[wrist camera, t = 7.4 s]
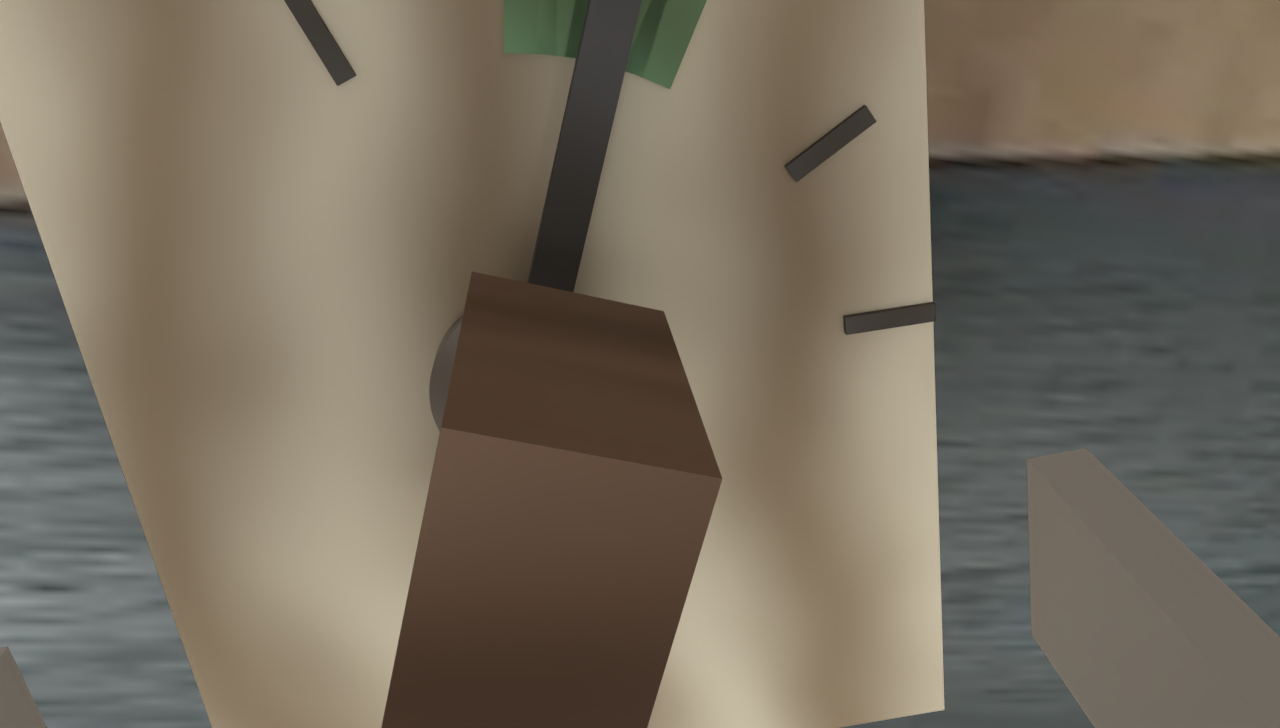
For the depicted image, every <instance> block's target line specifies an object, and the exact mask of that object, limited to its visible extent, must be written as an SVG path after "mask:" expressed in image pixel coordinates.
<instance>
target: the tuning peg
mask: <svg viewBox="0 0 1280 728" xmlns="http://www.w3.org/2000/svg"><path fill="white" fill-rule="evenodd" d="M641 1H642V0H589V2H588V6H587V11H586V15H585V20H584V24H583V29H582V34H581V38H580V43H579V47H578V52H577V57H576V61H575V66H574V70H573V75H572V80H571V84H570V89H569V93H568V98H567V103H566V107H565V112H564V116H563V121H562V125H561V130H560V135H559V139H558V144H557V148H556V153H555V158H554V162H553V167H552V171H551V176H550V181H549V185H548V190H547V194H546V199H545V204H544V208H543V213H542V217H541V222H540V226H539V231H538V236H537V240H536V245H535V249H534V254H533V259H532V263H531V268H530V272H529V277H528V282H527V283H526V282H521V281H516V280H511V279H507V278H502V277H497V276H492V275H487V274H482V273H478V272H473V271H472V273H471V278H470V283H469V288H468V293H467V298H466V303H465V308H464V313H463V315H462V316H461V317H460V318H459V319H458V320H457V321H456V322H455V323H454V324H453V325H452V326H451V328H450V329H449V330H448V331H447V333H446V334H445V336H444V338H443V339H442V341H441V343H440V345H439V348H438V350H437V353H436V356H435V360H434V364H433V368H432V372H431V376H430V384H429V400H430V406H431V412H432V415H433V418H434V421H435V424H436V426H437V428H438V430H439V432H440V434H439V439H438V444H437V449H436V454H435V459H434V464H433V469H432V474H431V479H430V484H429V489H428V494H427V499H426V504H425V510H424V515H423V520H422V525H421V530H420V535H419V540H418V545H417V550H416V555H415V560H414V565H413V570H412V575H411V580H410V585H409V590H408V595H407V600H406V605H405V610H404V615H403V620H402V625H401V630H400V635H399V640H398V646H397V651H396V656H395V661H394V666H393V671H392V676H391V681H390V686H389V691H388V696H387V701H386V706H385V711H384V717H383V722H382V727H381V728H647V727H648V723H649V720H650V717H651V714H652V710H653V707H654V704H655V700H656V697H657V694H658V690H659V687H660V684H661V680H662V677H663V674H664V671H665V667H666V664H667V661H668V657H669V654H670V651H671V647H672V644H673V641H674V637H675V634H676V631H677V628H678V624H679V621H680V618H681V614H682V611H683V608H684V604H685V601H686V598H687V594H688V591H689V588H690V585H691V581H692V578H693V575H694V571H695V568H696V565H697V561H698V558H699V555H700V551H701V548H702V545H703V542H704V538H705V535H706V532H707V528H708V525H709V522H710V518H711V515H712V512H713V508H714V505H715V502H716V499H717V495H718V492H719V489H720V485H721V482H722V476H721V473H720V470H719V467H718V465H717V462H716V459H715V456H714V453H713V450H712V447H711V444H710V442H709V439H708V436H707V433H706V430H705V427H704V424H703V422H702V419H701V416H700V413H699V410H698V407H697V404H696V402H695V399H694V396H693V393H692V390H691V387H690V384H689V382H688V379H687V376H686V373H685V370H684V367H683V364H682V362H681V359H680V356H679V353H678V350H677V347H676V344H675V342H674V339H673V336H672V333H671V330H670V327H669V324H668V322H667V319H666V316H665V313H664V311H661V310H656V309H651V308H646V307H641V306H637V305H632V304H627V303H622V302H617V301H612V300H608V299H603V298H598V297H593V296H588V295H584V294H579V293H574V288H575V283H576V279H577V275H578V271H579V266H580V262H581V258H582V254H583V249H584V245H585V241H586V236H587V232H588V228H589V224H590V219H591V215H592V211H593V206H594V202H595V198H596V194H597V189H598V185H599V181H600V177H601V172H602V168H603V164H604V159H605V155H606V151H607V147H608V142H609V138H610V134H611V130H612V125H613V121H614V117H615V112H616V108H617V104H618V100H619V95H620V91H621V87H622V83H623V78H624V74H625V70H626V65H627V61H628V57H629V53H630V48H631V44H632V40H633V35H634V31H635V27H636V23H637V18H638V14H639V10H640V6H641Z"/></svg>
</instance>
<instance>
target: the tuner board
mask: <svg viewBox="0 0 1280 728" xmlns="http://www.w3.org/2000/svg"><path fill="white" fill-rule="evenodd" d="M588 2H589V0H0V122H1V125H2V128H3V130H4V133H5V136H6V139H7V142H8V145H9V148H10V150H11V153H12V156H13V159H14V162H15V165H16V168H17V170H18V173H19V176H20V179H21V182H22V185H23V188H24V190H25V193H26V196H27V199H28V202H29V205H30V208H31V211H32V213H33V216H34V219H35V222H36V225H37V228H38V231H39V233H40V236H41V239H42V242H43V245H44V248H45V251H46V253H47V256H48V259H49V262H50V265H51V268H52V271H53V273H54V276H55V279H56V282H57V285H58V288H59V291H60V294H61V296H62V299H63V302H64V305H65V308H66V311H67V314H68V316H69V319H70V322H71V325H72V328H73V331H74V334H75V336H76V339H77V342H78V345H79V348H80V351H81V354H82V356H83V359H84V362H85V365H86V368H87V371H88V374H89V377H90V379H91V382H92V385H93V388H94V391H95V394H96V397H97V399H98V402H99V405H100V408H101V411H102V414H103V417H104V419H105V422H106V425H107V428H108V431H109V434H110V437H111V440H112V442H113V445H114V448H115V451H116V454H117V457H118V460H119V462H120V465H121V468H122V471H123V474H124V477H125V480H126V482H127V485H128V488H129V491H130V494H131V497H132V500H133V502H134V505H135V508H136V511H137V514H138V517H139V520H140V523H141V525H142V528H143V531H144V534H145V537H146V540H147V543H148V545H149V548H150V551H151V554H152V557H153V560H154V563H155V565H156V568H157V571H158V574H159V577H160V580H161V583H162V585H163V588H164V591H165V594H166V597H167V600H168V603H169V606H170V608H171V611H172V614H173V617H174V620H175V623H176V626H177V628H178V631H179V634H180V637H181V640H182V643H183V646H184V648H185V651H186V654H187V657H188V660H189V663H190V666H191V668H192V671H193V674H194V677H195V680H196V683H197V686H198V689H199V691H200V694H201V697H202V700H203V703H204V706H205V709H206V711H207V714H208V717H209V720H210V723H211V726H212V728H381V727H382V722H383V717H384V711H385V706H386V701H387V696H388V691H389V686H390V681H391V676H392V671H393V666H394V661H395V656H396V651H397V646H398V640H399V635H400V630H401V625H402V620H403V615H404V610H405V605H406V600H407V595H408V590H409V585H410V580H411V575H412V570H413V565H414V560H415V555H416V550H417V545H418V540H419V535H420V530H421V525H422V520H423V515H424V510H425V504H426V499H427V494H428V489H429V484H430V479H431V474H432V469H433V464H434V459H435V454H436V449H437V444H438V439H439V434H440V432H439V430H438V428H437V426H436V424H435V421H434V418H433V415H432V412H431V406H430V400H429V384H430V376H431V372H432V368H433V364H434V360H435V356H436V353H437V350H438V348H439V345H440V343H441V341H442V339H443V338H444V336H445V334H446V333H447V331H448V330H449V329H450V328H451V326H452V325H453V324H454V323H455V322H456V321H457V320H458V319H459V318H460V317H461V316H462V315H463V313H464V308H465V303H466V298H467V293H468V288H469V283H470V278H471V273H472V271H473V272H478V273H482V274H487V275H492V276H497V277H502V278H507V279H511V280H516V281H521V282H526V283H527V282H528V277H529V272H530V268H531V263H532V259H533V254H534V249H535V245H536V240H537V236H538V231H539V226H540V222H541V217H542V213H543V208H544V204H545V199H546V194H547V190H548V185H549V181H550V176H551V171H552V167H553V162H554V158H555V153H556V148H557V144H558V139H559V135H560V130H561V125H562V121H563V116H564V112H565V107H566V103H567V98H568V93H569V89H570V84H571V80H572V75H573V70H574V66H575V61H576V57H577V52H578V47H579V43H580V38H581V34H582V29H583V24H584V20H585V15H586V11H587V6H588ZM574 293H579V294H584V295H588V296H593V297H598V298H603V299H608V300H612V301H617V302H622V303H627V304H632V305H637V306H641V307H646V308H651V309H656V310H661V311H664V313H665V316H666V319H667V322H668V324H669V327H670V330H671V333H672V336H673V339H674V342H675V344H676V347H677V350H678V353H679V356H680V359H681V362H682V364H683V367H684V370H685V373H686V376H687V379H688V382H689V384H690V387H691V390H692V393H693V396H694V399H695V402H696V404H697V407H698V410H699V413H700V416H701V419H702V422H703V424H704V427H705V430H706V433H707V436H708V439H709V442H710V444H711V447H712V450H713V453H714V456H715V459H716V462H717V465H718V467H719V470H720V473H721V476H722V482H721V485H720V489H719V492H718V495H717V499H716V502H715V505H714V508H713V512H712V515H711V518H710V522H709V525H708V528H707V532H706V535H705V538H704V542H703V545H702V548H701V551H700V555H699V558H698V561H697V565H696V568H695V571H694V575H693V578H692V581H691V585H690V588H689V591H688V594H687V598H686V601H685V604H684V608H683V611H682V614H681V618H680V621H679V624H678V628H677V631H676V634H675V637H674V641H673V644H672V647H671V651H670V654H669V657H668V661H667V664H666V667H665V671H664V674H663V677H662V680H661V684H660V687H659V690H658V694H657V697H656V700H655V704H654V707H653V710H652V714H651V717H650V720H649V723H648V727H647V728H839V727H845V726H851V725H857V724H863V723H869V722H875V721H881V720H886V719H892V718H898V717H904V716H910V715H916V714H922V713H928V712H934V711H940V710H944V680H943V645H942V610H941V576H940V541H939V506H938V471H937V436H936V401H935V366H934V331H933V322H934V321H936V316H935V304H934V303H933V296H932V261H931V226H930V192H929V157H928V122H927V87H926V52H925V17H924V0H642V1H641V6H640V10H639V14H638V18H637V23H636V27H635V31H634V35H633V40H632V44H631V48H630V53H629V57H628V61H627V65H626V70H625V74H624V78H623V83H622V87H621V91H620V95H619V100H618V104H617V108H616V112H615V117H614V121H613V125H612V130H611V134H610V138H609V142H608V147H607V151H606V155H605V159H604V164H603V168H602V172H601V177H600V181H599V185H598V189H597V194H596V198H595V202H594V206H593V211H592V215H591V219H590V224H589V228H588V232H587V236H586V241H585V245H584V249H583V254H582V258H581V262H580V266H579V271H578V275H577V279H576V283H575V288H574Z"/></svg>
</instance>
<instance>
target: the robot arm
mask: <svg viewBox="0 0 1280 728" xmlns="http://www.w3.org/2000/svg"><path fill="white" fill-rule="evenodd" d="M1027 480H1028V518H1029V556H1030V594H1031V632H1032V636H1033V638H1034V639H1035V641H1036V642H1037V643H1038V645H1039V646H1040V648H1041V649H1042V651H1043V652H1044V654H1045V655H1046V657H1047V658H1048V660H1049V661H1050V663H1051V664H1052V666H1053V667H1054V668H1055V670H1056V671H1057V673H1058V674H1059V676H1060V677H1061V679H1062V680H1063V682H1064V683H1065V685H1066V686H1067V688H1068V689H1069V691H1070V692H1071V693H1072V695H1073V696H1074V698H1075V699H1076V701H1077V702H1078V704H1079V705H1080V707H1081V708H1082V710H1083V711H1084V713H1085V714H1086V716H1087V717H1088V718H1089V720H1090V721H1091V723H1092V724H1093V726H1094V727H1095V728H1280V637H1279V636H1278V635H1277V634H1276V633H1275V632H1274V631H1273V630H1272V629H1271V628H1270V627H1269V626H1268V625H1267V624H1266V623H1265V622H1264V621H1263V620H1262V619H1261V618H1259V617H1258V616H1257V615H1256V614H1255V613H1254V612H1253V611H1252V610H1251V609H1250V608H1249V607H1248V606H1247V605H1246V604H1245V603H1244V602H1243V601H1242V600H1241V599H1240V598H1239V597H1238V596H1237V595H1236V594H1235V593H1234V592H1233V591H1232V590H1231V589H1230V588H1229V587H1228V586H1227V585H1226V584H1225V583H1224V582H1223V581H1221V580H1220V579H1219V578H1218V577H1217V576H1216V575H1215V574H1214V573H1213V572H1212V571H1211V570H1210V569H1209V568H1208V567H1207V566H1206V565H1205V564H1204V563H1203V562H1202V561H1201V560H1200V559H1199V558H1198V557H1197V556H1196V555H1195V554H1194V553H1193V552H1192V551H1191V550H1190V549H1189V548H1188V547H1187V546H1186V545H1185V544H1184V543H1182V542H1181V541H1180V540H1179V539H1178V538H1177V537H1176V536H1175V535H1174V534H1173V533H1172V532H1171V531H1170V530H1169V529H1168V528H1167V527H1166V526H1165V525H1164V524H1163V523H1162V522H1161V521H1160V520H1159V519H1158V518H1157V517H1156V516H1155V515H1154V514H1153V513H1152V512H1151V511H1150V510H1149V509H1148V508H1147V507H1146V506H1145V505H1143V504H1142V503H1141V502H1140V501H1139V500H1138V499H1137V498H1136V497H1135V496H1134V495H1133V494H1132V493H1131V492H1130V491H1129V490H1128V489H1127V488H1126V487H1125V486H1124V485H1123V484H1122V483H1121V482H1120V481H1119V480H1118V479H1117V478H1116V477H1115V476H1114V475H1113V474H1112V473H1111V472H1110V471H1109V470H1108V469H1107V468H1106V467H1104V466H1103V465H1102V464H1101V463H1100V462H1099V461H1098V460H1097V459H1096V458H1095V457H1094V456H1093V455H1092V454H1091V453H1090V452H1089V451H1088V450H1087V449H1086V448H1085V449H1080V450H1074V451H1069V452H1063V453H1058V454H1052V455H1047V456H1041V457H1036V458H1031V459H1027ZM0 728H47V727H46V725H45V723H44V721H43V719H42V716H41V714H40V712H39V710H38V708H37V706H36V704H35V702H34V700H33V698H32V696H31V694H30V692H29V689H28V687H27V685H26V683H25V681H24V679H23V677H22V675H21V673H20V671H19V669H18V667H17V665H16V662H15V660H14V658H13V656H12V654H11V652H10V650H9V648H8V647H2V648H0Z"/></svg>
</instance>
